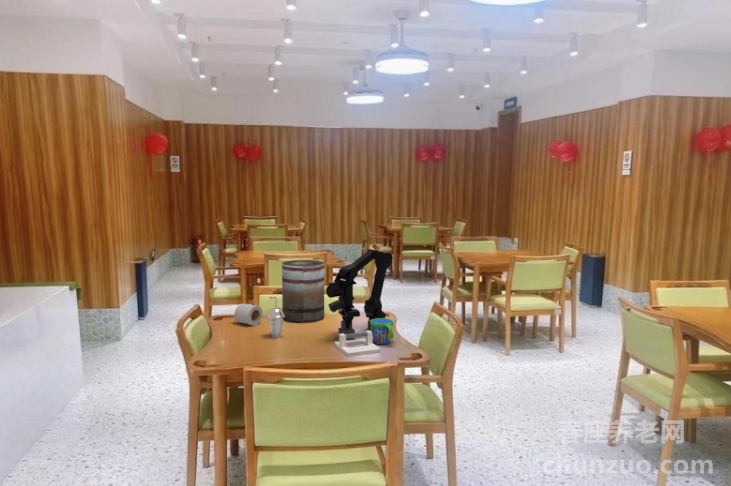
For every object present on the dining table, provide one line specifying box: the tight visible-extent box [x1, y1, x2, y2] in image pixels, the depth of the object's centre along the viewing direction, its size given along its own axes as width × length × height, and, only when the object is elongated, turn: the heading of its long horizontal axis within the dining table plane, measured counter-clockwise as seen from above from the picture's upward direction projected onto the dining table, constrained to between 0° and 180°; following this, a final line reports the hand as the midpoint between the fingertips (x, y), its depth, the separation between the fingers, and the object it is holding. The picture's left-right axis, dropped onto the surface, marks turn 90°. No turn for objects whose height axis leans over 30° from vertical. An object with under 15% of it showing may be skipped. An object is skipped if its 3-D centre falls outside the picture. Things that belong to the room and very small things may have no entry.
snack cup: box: [370, 317, 394, 345], centre depth 225 cm, size 16×10×10 cm
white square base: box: [334, 330, 382, 357], centre depth 216 cm, size 15×16×6 cm
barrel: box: [281, 259, 325, 324], centre depth 266 cm, size 22×22×30 cm
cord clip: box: [337, 320, 356, 340], centre depth 231 cm, size 6×6×8 cm
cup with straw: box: [266, 296, 285, 339], centre depth 232 cm, size 8×9×20 cm
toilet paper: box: [233, 303, 263, 327], centre depth 254 cm, size 10×10×10 cm
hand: (346, 327), depth 231 cm, fingers closed on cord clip
